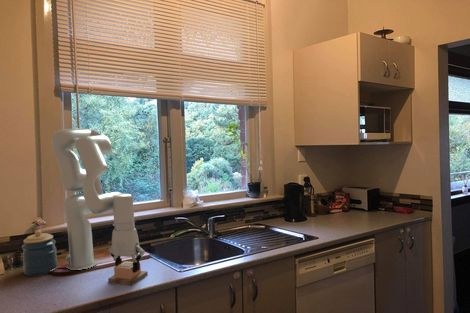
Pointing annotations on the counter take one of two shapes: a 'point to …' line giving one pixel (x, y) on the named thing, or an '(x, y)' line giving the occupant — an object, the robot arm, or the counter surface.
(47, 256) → the canister
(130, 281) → the post board
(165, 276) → the counter surface
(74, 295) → the counter surface
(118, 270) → the collar
